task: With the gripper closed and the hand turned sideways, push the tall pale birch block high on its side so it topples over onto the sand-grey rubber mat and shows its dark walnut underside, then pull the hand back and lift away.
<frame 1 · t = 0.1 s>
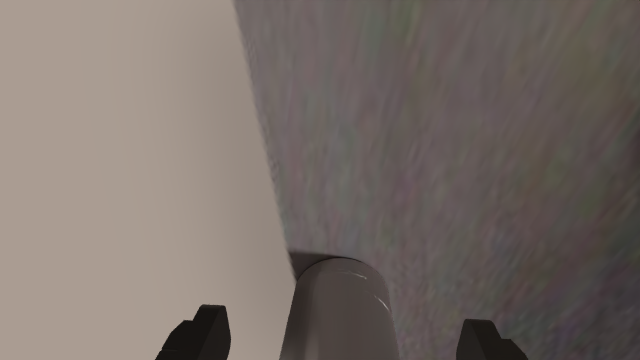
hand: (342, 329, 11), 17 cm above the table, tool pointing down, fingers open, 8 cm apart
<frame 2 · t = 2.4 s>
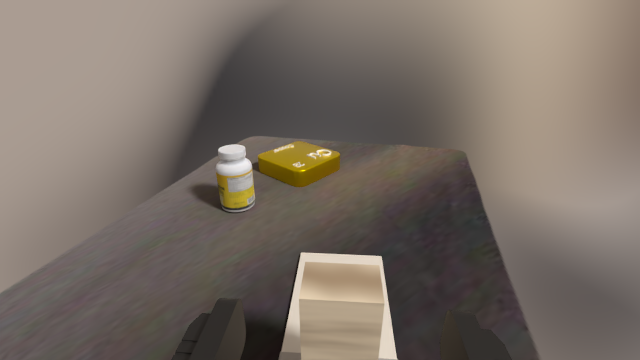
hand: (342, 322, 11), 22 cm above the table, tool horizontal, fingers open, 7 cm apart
pill bottle: (238, 206, 63), on the table
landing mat: (339, 302, 41), on the table
element tile: (299, 171, 79), on the table
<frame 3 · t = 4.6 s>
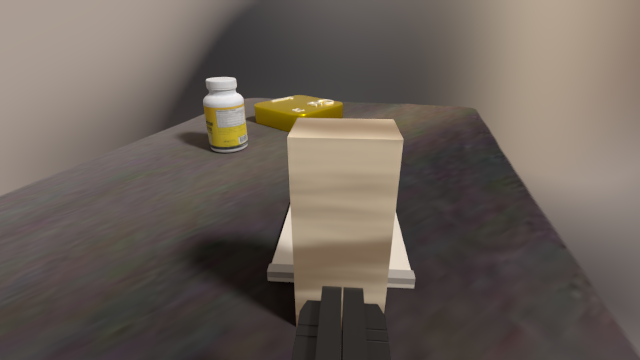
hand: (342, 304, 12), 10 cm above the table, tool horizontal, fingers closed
pill bottle: (229, 148, 57), on the table
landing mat: (341, 224, 35), on the table
birch block: (339, 307, 25), on the table
element tile: (299, 123, 73), on the table
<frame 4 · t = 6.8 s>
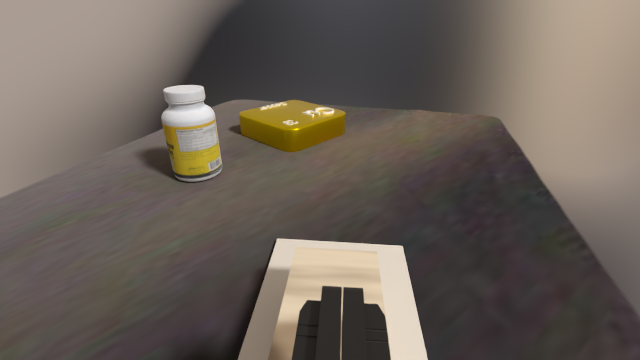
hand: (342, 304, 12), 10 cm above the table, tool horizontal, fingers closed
pill bottle: (199, 174, 45), on the table
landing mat: (334, 324, 23), on the table
element tile: (293, 135, 62), on the table
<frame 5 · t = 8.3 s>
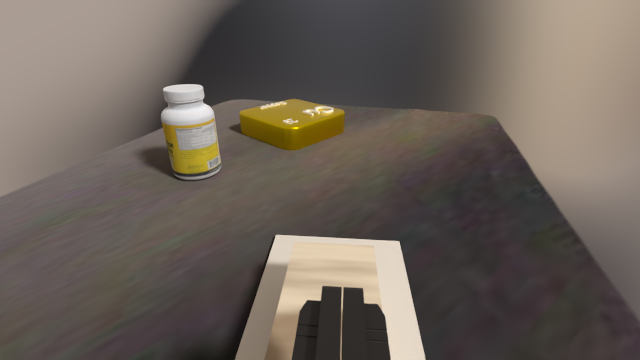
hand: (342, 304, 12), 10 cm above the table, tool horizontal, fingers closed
pill bottle: (198, 173, 46), on the table
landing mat: (332, 317, 24), on the table
element tile: (293, 134, 62), on the table
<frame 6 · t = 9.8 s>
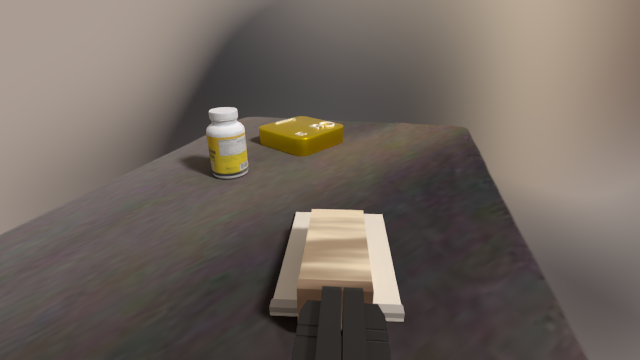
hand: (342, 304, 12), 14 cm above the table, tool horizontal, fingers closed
pill bottle: (231, 174, 60), on the table
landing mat: (337, 255, 37), on the table
birch block: (334, 310, 26), point 3 cm above the table, tilted 93°, touching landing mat
element tile: (302, 144, 77), on the table
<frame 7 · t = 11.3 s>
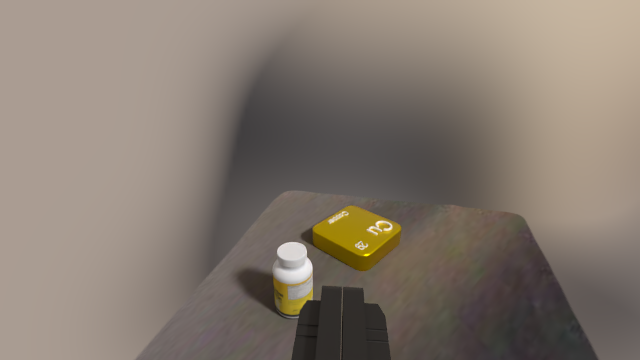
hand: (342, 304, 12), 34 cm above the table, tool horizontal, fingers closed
pill bottle: (294, 306, 56), on the table
element tile: (356, 244, 73), on the table
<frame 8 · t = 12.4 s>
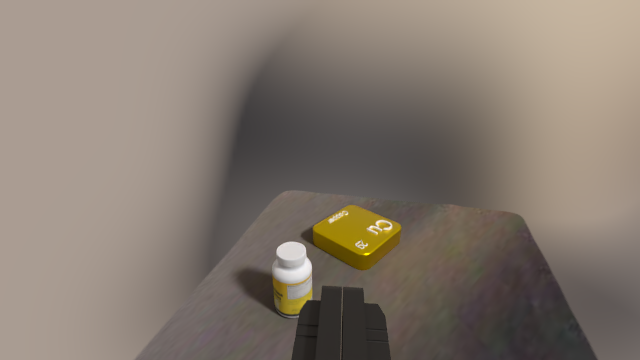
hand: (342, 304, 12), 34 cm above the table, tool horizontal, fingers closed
pill bottle: (293, 305, 56), on the table
element tile: (356, 243, 73), on the table
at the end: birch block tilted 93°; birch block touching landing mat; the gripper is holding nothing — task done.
